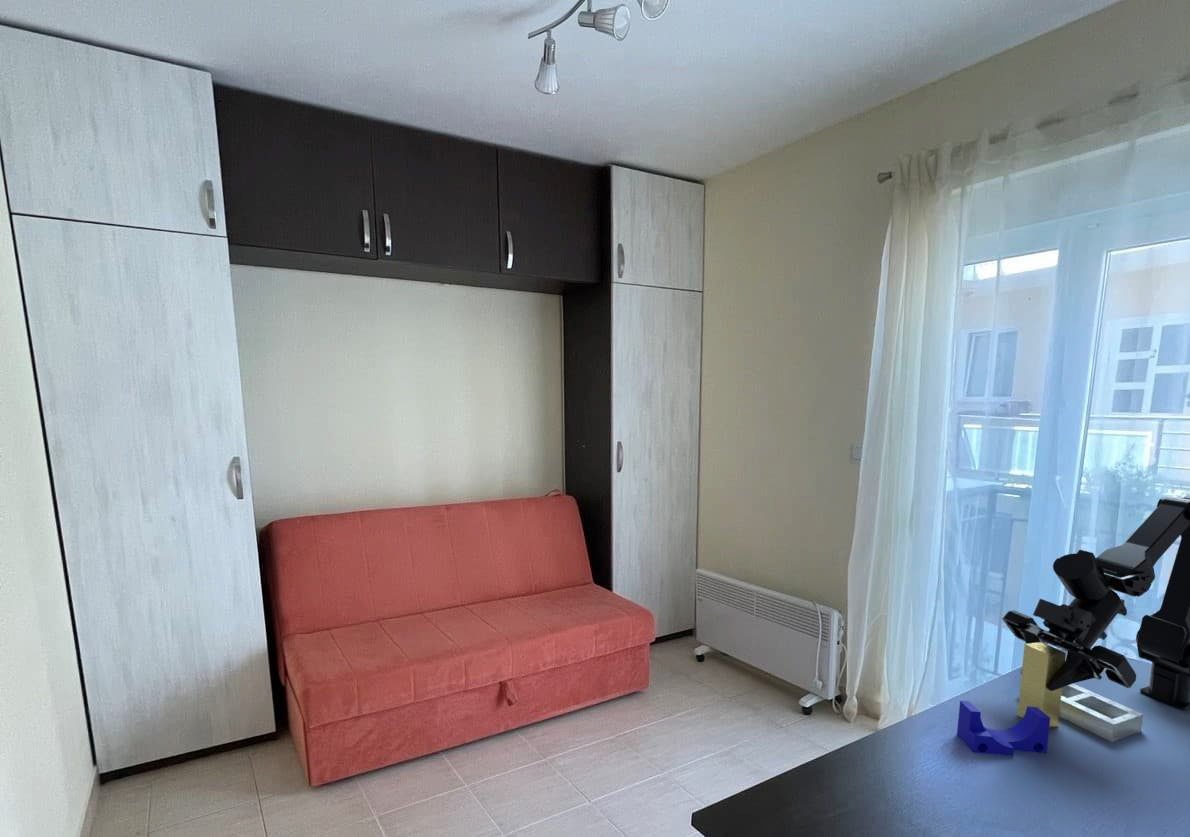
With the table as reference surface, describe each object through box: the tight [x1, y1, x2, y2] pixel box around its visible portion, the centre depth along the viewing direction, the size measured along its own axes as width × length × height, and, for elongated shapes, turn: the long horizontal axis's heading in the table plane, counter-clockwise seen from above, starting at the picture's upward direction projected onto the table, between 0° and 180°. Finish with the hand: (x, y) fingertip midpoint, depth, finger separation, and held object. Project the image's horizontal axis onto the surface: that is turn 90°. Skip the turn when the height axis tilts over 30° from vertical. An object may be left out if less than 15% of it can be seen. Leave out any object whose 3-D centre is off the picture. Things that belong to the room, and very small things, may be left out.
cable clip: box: [956, 700, 1050, 757], centre depth 90 cm, size 12×4×6 cm, turn 86°
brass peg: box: [1017, 642, 1067, 729], centre depth 98 cm, size 4×4×13 cm
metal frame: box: [1059, 683, 1144, 743], centre depth 101 cm, size 9×14×3 cm, turn 23°
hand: (1035, 682), depth 97 cm, fingers closed on brass peg, 4 cm apart
